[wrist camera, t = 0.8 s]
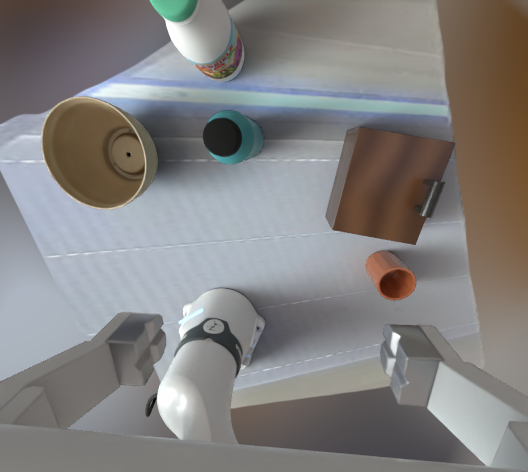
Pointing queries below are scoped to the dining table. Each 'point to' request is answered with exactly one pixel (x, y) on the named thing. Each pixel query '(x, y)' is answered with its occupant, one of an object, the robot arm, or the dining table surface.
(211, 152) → the beverage bottle
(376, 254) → the cup
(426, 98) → the dining table surface
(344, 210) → the lid
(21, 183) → the dining table surface
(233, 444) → the robot arm
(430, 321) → the dining table surface
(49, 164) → the planter bowl
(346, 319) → the dining table surface
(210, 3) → the milk bottle
